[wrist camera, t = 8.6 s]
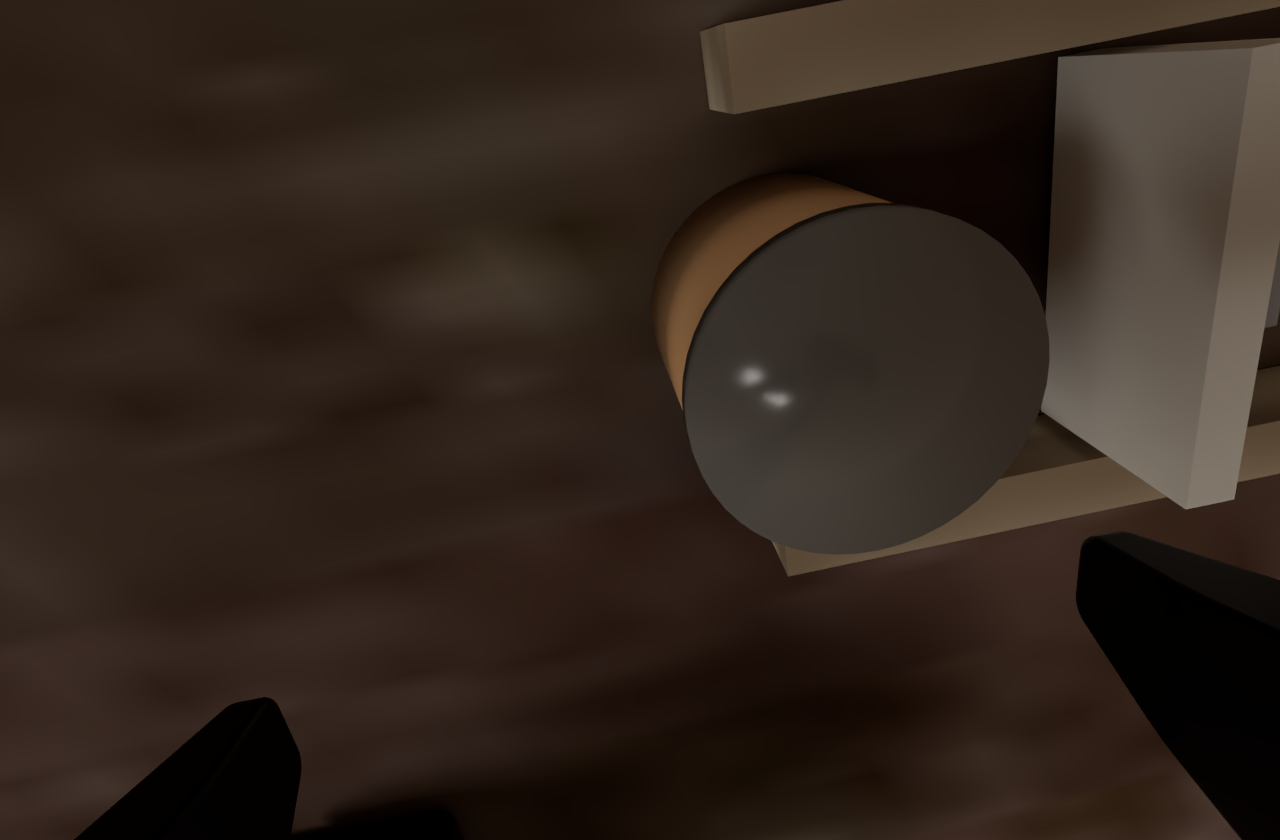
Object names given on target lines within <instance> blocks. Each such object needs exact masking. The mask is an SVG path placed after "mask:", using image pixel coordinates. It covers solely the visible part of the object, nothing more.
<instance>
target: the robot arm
mask: <svg viewBox="0 0 1280 840" xmlns="http://www.w3.org/2000/svg"><path fill="white" fill-rule="evenodd" d="M1076 602H1077V607H1078V611H1079V613H1080V615H1081V618H1082V619H1083V621H1084V623H1085V624H1086V626H1087V627H1088V629H1089V630H1090V632H1091V633H1092V635H1093V636H1094V638H1095V640H1096V641H1097V643H1098V644H1099V646H1100V647H1101V649H1102V650H1103V652H1104V653H1105V655H1106V656H1107V658H1108V659H1109V661H1110V662H1111V664H1112V665H1113V667H1114V669H1115V670H1116V672H1117V673H1118V675H1119V676H1120V678H1121V679H1122V681H1123V682H1124V684H1125V685H1126V687H1127V688H1128V690H1129V691H1130V693H1131V694H1132V696H1133V698H1134V699H1135V701H1136V702H1137V704H1138V705H1139V707H1140V708H1141V710H1142V711H1143V713H1144V714H1145V716H1146V717H1147V719H1148V720H1149V722H1150V723H1151V725H1152V726H1153V728H1154V729H1155V730H1156V732H1157V733H1158V735H1159V736H1160V738H1161V739H1162V740H1163V742H1164V743H1165V744H1166V746H1167V747H1168V748H1169V749H1170V751H1171V752H1172V753H1173V755H1174V756H1175V757H1176V759H1177V760H1178V761H1179V762H1180V764H1181V765H1182V766H1183V767H1184V769H1185V770H1186V771H1187V772H1188V774H1189V775H1190V776H1191V777H1192V779H1193V780H1194V781H1195V782H1196V784H1197V785H1198V786H1199V787H1200V789H1201V790H1202V791H1203V792H1204V794H1205V795H1206V796H1207V797H1208V799H1209V800H1210V801H1211V802H1212V804H1213V805H1214V806H1215V807H1216V809H1217V810H1218V811H1219V812H1220V814H1221V815H1222V816H1223V817H1224V819H1225V820H1226V821H1227V822H1228V824H1229V825H1230V826H1231V827H1232V829H1233V830H1234V831H1235V832H1236V834H1237V835H1238V836H1239V837H1240V838H1241V840H1280V580H1277V579H1274V578H1271V577H1268V576H1265V575H1261V574H1258V573H1255V572H1252V571H1249V570H1246V569H1243V568H1239V567H1236V566H1233V565H1230V564H1227V563H1224V562H1221V561H1218V560H1214V559H1211V558H1208V557H1205V556H1202V555H1199V554H1196V553H1192V552H1189V551H1186V550H1183V549H1180V548H1177V547H1174V546H1171V545H1167V544H1164V543H1161V542H1158V541H1155V540H1152V539H1149V538H1145V537H1142V536H1139V535H1136V534H1133V533H1130V532H1126V531H1116V532H1111V533H1106V534H1101V535H1095V536H1091V537H1089V538H1087V539H1086V540H1085V541H1084V542H1083V544H1082V546H1081V550H1080V559H1079V569H1078V579H1077V589H1076ZM300 778H301V758H300V753H299V750H298V748H297V745H296V743H295V741H294V739H293V737H292V734H291V732H290V730H289V728H288V726H287V724H286V721H285V719H284V717H283V715H282V713H281V711H280V708H279V707H278V705H277V703H276V702H275V701H274V700H273V699H271V698H267V697H263V698H257V699H252V700H247V701H242V702H237V703H234V704H231V705H229V706H228V707H226V708H225V709H224V710H223V711H222V712H220V713H219V714H218V715H217V716H216V717H215V718H213V719H212V720H211V721H210V722H209V723H208V724H207V725H205V726H204V727H203V728H202V729H201V730H200V731H199V732H197V733H196V734H195V735H194V736H193V737H192V738H190V739H189V740H188V741H187V742H186V743H185V744H184V745H182V746H181V747H180V748H179V749H178V750H177V751H175V752H174V753H173V754H172V755H171V756H170V757H169V758H167V759H166V760H165V761H164V762H163V763H162V764H161V765H159V766H158V767H157V768H156V769H155V770H154V771H152V772H151V773H150V774H149V775H148V776H147V777H146V778H144V779H143V780H142V781H141V782H140V783H139V784H137V785H136V786H135V787H134V788H133V789H132V790H131V791H129V792H128V793H127V794H126V795H125V796H124V797H123V798H121V799H120V800H119V801H118V802H117V803H116V804H114V805H113V806H112V807H111V808H110V809H109V810H108V811H106V812H105V813H104V814H103V815H102V816H101V817H100V818H98V819H97V820H96V821H95V822H94V823H93V824H91V825H90V826H89V827H88V828H87V829H86V830H85V831H83V832H82V833H81V834H80V835H79V836H78V837H76V838H75V839H74V840H290V837H291V831H292V825H293V819H294V813H295V807H296V801H297V795H298V790H299V784H300ZM299 840H463V838H462V835H461V833H460V830H459V828H458V825H457V823H456V820H455V818H454V817H453V815H452V814H450V813H449V812H447V811H442V810H435V811H430V812H425V813H420V814H416V815H411V816H406V817H402V818H397V819H392V820H388V821H383V822H378V823H374V824H369V825H364V826H360V827H355V828H350V829H346V830H341V831H336V832H332V833H327V834H322V835H318V836H313V837H308V838H303V839H299Z"/></svg>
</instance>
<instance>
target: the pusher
mask: <svg viewBox="0 0 1280 840" xmlns="http://www.w3.org/2000/svg"><path fill="white" fill-rule="evenodd" d="M1279 310H1280V38H1268V39H1251V40H1234V41H1217V42H1200V43H1182V44H1165V45H1148V46H1131V47H1114V48H1102V49H1097V50H1092V51H1086V52H1081V53H1076V54H1071V55H1066V56H1061V57H1058V73H1057V94H1056V114H1055V135H1054V155H1053V176H1052V196H1051V217H1050V237H1049V257H1048V278H1047V298H1046V323H1047V329H1048V335H1049V357H1050V362H1049V370H1048V379H1047V385H1046V389H1045V393H1044V397H1043V401H1042V405H1041V411H1042V412H1043V413H1045V414H1046V415H1048V416H1049V417H1051V418H1052V419H1054V420H1055V421H1057V422H1058V423H1060V424H1061V425H1063V426H1064V427H1066V428H1067V429H1068V430H1070V431H1071V432H1073V433H1074V434H1076V435H1077V436H1079V437H1080V438H1082V439H1083V440H1085V441H1086V442H1088V443H1089V444H1090V445H1092V446H1093V447H1095V448H1096V449H1098V450H1099V451H1101V452H1102V453H1104V454H1105V455H1107V456H1108V457H1110V458H1111V459H1112V460H1114V461H1115V462H1117V463H1118V464H1120V465H1121V466H1123V467H1124V468H1126V469H1127V470H1129V471H1130V472H1132V473H1133V474H1135V475H1136V476H1137V477H1139V478H1140V479H1142V480H1143V481H1145V482H1146V483H1148V484H1149V485H1151V486H1152V487H1154V488H1155V489H1157V490H1158V491H1159V492H1161V493H1162V494H1164V495H1165V496H1167V497H1168V498H1170V499H1171V500H1173V501H1174V502H1176V503H1177V504H1179V505H1180V506H1182V507H1183V508H1184V509H1191V508H1195V507H1200V506H1205V505H1210V504H1214V503H1219V502H1224V501H1229V500H1233V499H1234V498H1235V492H1236V487H1237V481H1238V475H1239V470H1240V464H1241V458H1242V453H1243V447H1244V441H1245V435H1246V430H1247V424H1248V418H1249V413H1250V407H1251V401H1252V396H1253V390H1254V384H1255V379H1256V373H1257V367H1258V361H1259V356H1260V350H1261V344H1262V339H1263V333H1264V328H1267V327H1272V326H1277V321H1278V316H1279Z"/></svg>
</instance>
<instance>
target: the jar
mask: <svg viewBox="0 0 1280 840" xmlns="http://www.w3.org/2000/svg"><path fill="white" fill-rule="evenodd" d="M651 315H652V324H653V331H654V335H655V339H656V343H657V346H658V348H659V351H660V354H661V356H662V359H663V361H664V364H665V366H666V369H667V371H668V374H669V377H670V379H671V382H672V384H673V387H674V389H675V392H676V394H677V397H678V400H679V402H680V405H681V407H682V410H683V418H684V424H685V428H686V432H687V436H688V440H689V443H690V446H691V449H692V451H693V454H694V457H695V459H696V462H697V464H698V466H699V469H700V471H701V474H702V476H703V478H704V479H705V481H706V483H707V484H708V486H709V488H710V489H711V491H712V493H713V494H714V495H715V497H716V498H717V499H718V500H719V502H720V503H721V504H722V505H723V506H724V508H725V509H726V510H727V511H728V512H729V513H731V514H732V515H733V516H734V517H735V518H736V519H737V520H738V521H739V522H741V523H742V524H743V525H745V526H746V527H748V528H749V529H751V530H752V531H754V532H755V533H757V534H759V535H761V536H763V537H765V538H767V539H769V540H771V541H773V542H775V543H778V544H781V545H784V546H787V547H790V548H793V549H797V550H802V551H807V552H812V553H821V554H834V555H839V554H859V553H865V552H872V551H878V550H882V549H886V548H890V547H893V546H897V545H901V544H903V543H906V542H909V541H911V540H914V539H916V538H919V537H921V536H923V535H925V534H927V533H929V532H931V531H933V530H935V529H937V528H939V527H941V526H943V525H944V524H946V523H948V522H949V521H951V520H952V519H954V518H955V517H957V516H958V515H960V514H961V513H963V512H964V511H965V510H966V509H968V508H969V507H970V506H971V505H973V504H974V503H975V502H977V501H978V500H979V499H980V498H981V497H982V496H983V495H984V494H985V493H986V492H987V491H988V490H989V489H990V488H991V487H992V486H993V485H994V484H995V483H996V482H997V481H998V480H999V479H1000V477H1001V476H1002V475H1003V474H1004V473H1005V471H1006V470H1007V469H1008V468H1009V467H1010V465H1011V464H1012V462H1013V461H1014V459H1015V458H1016V456H1017V455H1018V453H1019V452H1020V450H1021V449H1022V447H1023V445H1024V444H1025V442H1026V440H1027V438H1028V436H1029V434H1030V432H1031V430H1032V428H1033V426H1034V424H1035V421H1036V418H1037V416H1038V413H1039V410H1040V408H1041V405H1042V401H1043V397H1044V393H1045V389H1046V385H1047V379H1048V370H1049V362H1050V357H1049V335H1048V329H1047V323H1046V317H1045V314H1044V311H1043V307H1042V304H1041V301H1040V298H1039V295H1038V293H1037V291H1036V290H1035V288H1034V286H1033V284H1032V282H1031V280H1030V278H1029V276H1028V275H1027V273H1026V272H1025V270H1024V269H1023V268H1022V266H1021V265H1020V264H1019V262H1018V261H1017V260H1016V258H1015V257H1014V256H1013V255H1012V254H1011V253H1010V252H1009V251H1008V250H1007V249H1006V248H1005V247H1004V246H1003V245H1001V244H1000V243H999V242H998V241H997V240H995V239H994V238H992V237H991V236H989V235H988V234H987V233H985V232H984V231H982V230H981V229H979V228H977V227H975V226H973V225H971V224H968V223H966V222H964V221H962V220H960V219H958V218H955V217H952V216H949V215H946V214H943V213H939V212H936V211H933V210H930V209H926V208H923V207H920V206H914V205H907V204H900V203H892V202H889V201H886V200H883V199H880V198H878V197H875V196H872V195H869V194H866V193H863V192H861V191H858V190H855V189H852V188H849V187H847V186H844V185H841V184H838V183H835V182H832V181H830V180H826V179H823V178H820V177H817V176H813V175H807V174H800V173H775V174H767V175H761V176H757V177H753V178H750V179H746V180H743V181H741V182H739V183H736V184H734V185H731V186H729V187H727V188H726V189H724V190H722V191H720V192H719V193H717V194H715V195H713V196H712V197H711V198H710V199H708V200H707V201H706V202H704V203H703V204H702V205H700V206H699V207H698V208H697V209H696V210H695V211H694V212H693V213H692V214H691V215H690V216H689V217H688V218H687V219H686V220H685V221H684V223H683V224H682V225H681V226H680V228H679V229H678V230H677V231H676V233H675V234H674V236H673V238H672V239H671V241H670V243H669V244H668V246H667V248H666V250H665V252H664V254H663V256H662V259H661V261H660V263H659V266H658V270H657V273H656V276H655V280H654V286H653V292H652V305H651Z"/></svg>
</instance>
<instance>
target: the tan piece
mask: <svg viewBox="0 0 1280 840" xmlns="http://www.w3.org/2000/svg"><path fill="white" fill-rule="evenodd" d="M1275 7H1280V0H843V1H837V2H832V3H827V4H822V5H817V6H812V7H807V8H802V9H796V10H791V11H786V12H781V13H776V14H771V15H766V16H761V17H755V18H750V19H745V20H740V21H735V22H730V23H725V24H721V25H718V26H715V27H712V28H710V29H707V30H704V31H701V32H700V38H701V46H702V54H703V62H704V69H705V77H706V85H707V93H708V101H709V108H710V110H715V111H720V112H725V113H731V114H738V113H744V112H749V111H754V110H759V109H764V108H769V107H774V106H779V105H784V104H789V103H794V102H799V101H804V100H809V99H814V98H820V97H825V96H830V95H835V94H840V93H845V92H850V91H855V90H860V89H865V88H870V87H875V86H880V85H885V84H890V83H896V82H901V81H906V80H911V79H916V78H921V77H926V76H931V75H936V74H941V73H946V72H951V71H956V70H961V69H966V68H971V67H977V66H982V65H987V64H992V63H997V62H1002V61H1007V60H1012V59H1017V58H1022V57H1027V56H1032V55H1037V54H1042V53H1047V52H1053V51H1058V50H1063V49H1068V48H1073V47H1078V46H1083V45H1088V44H1093V43H1098V42H1103V41H1108V40H1113V39H1118V38H1123V37H1129V36H1134V35H1139V34H1144V33H1149V32H1154V31H1159V30H1164V29H1169V28H1174V27H1179V26H1184V25H1189V24H1194V23H1199V22H1205V21H1210V20H1215V19H1220V18H1225V17H1230V16H1235V15H1240V14H1245V13H1250V12H1255V11H1260V10H1265V9H1270V8H1275ZM1279 473H1280V366H1276V367H1271V368H1266V369H1261V370H1257V373H1256V379H1255V384H1254V390H1253V396H1252V401H1251V407H1250V413H1249V418H1248V424H1247V430H1246V435H1245V441H1244V447H1243V453H1242V458H1241V464H1240V470H1239V475H1238V481H1237V482H1241V481H1246V480H1251V479H1255V478H1260V477H1265V476H1270V475H1274V474H1279ZM1165 497H1167V496H1165V495H1164V494H1162V493H1161V492H1159V491H1158V490H1157V489H1155V488H1154V487H1152V486H1151V485H1149V484H1148V483H1146V482H1145V481H1143V480H1142V479H1140V478H1139V477H1137V476H1136V475H1135V474H1133V473H1132V472H1130V471H1129V470H1127V469H1126V468H1124V467H1123V466H1121V465H1120V464H1118V463H1117V462H1115V461H1114V460H1112V459H1111V458H1110V457H1108V456H1107V455H1105V454H1104V453H1102V452H1101V451H1099V450H1098V449H1096V448H1095V447H1093V446H1092V445H1090V444H1089V443H1088V442H1086V441H1085V440H1083V439H1082V438H1080V437H1079V436H1077V435H1076V434H1074V433H1073V432H1071V431H1070V430H1068V429H1067V428H1066V427H1064V426H1063V425H1061V424H1060V423H1058V422H1057V421H1055V420H1054V419H1052V418H1051V417H1049V416H1048V415H1046V414H1044V415H1039V416H1037V418H1036V421H1035V424H1034V426H1033V428H1032V430H1031V432H1030V434H1029V436H1028V438H1027V440H1026V442H1025V444H1024V445H1023V447H1022V449H1021V450H1020V452H1019V453H1018V455H1017V456H1016V458H1015V459H1014V461H1013V462H1012V464H1011V465H1010V467H1009V468H1008V469H1007V470H1006V471H1005V473H1004V474H1003V475H1002V476H1001V477H1000V479H999V480H998V481H997V482H996V483H995V484H994V485H993V486H992V487H991V488H990V489H989V490H988V491H987V492H986V493H985V494H984V495H983V496H982V497H981V498H980V499H979V500H978V501H977V502H975V503H974V504H973V505H971V506H970V507H969V508H968V509H966V510H965V511H964V512H963V513H961V514H960V515H958V516H957V517H955V518H954V519H952V520H951V521H949V522H948V523H946V524H944V525H943V526H941V527H939V528H937V529H935V530H933V531H931V532H929V533H927V534H925V535H923V536H921V537H919V538H916V539H914V540H911V541H909V542H906V543H903V544H901V545H897V546H893V547H890V548H886V549H882V550H878V551H872V552H865V553H859V554H839V555H834V554H821V553H812V552H807V551H802V550H797V549H793V548H790V547H787V546H784V545H781V544H778V543H775V542H773V541H772V543H773V545H774V547H775V549H776V551H777V553H778V555H779V558H780V560H781V562H782V564H783V566H784V568H785V570H786V572H787V575H788V576H793V575H797V574H802V573H807V572H812V571H816V570H821V569H826V568H831V567H835V566H840V565H845V564H850V563H855V562H859V561H864V560H869V559H874V558H878V557H883V556H888V555H893V554H898V553H902V552H907V551H912V550H917V549H921V548H926V547H931V546H936V545H940V544H945V543H950V542H955V541H960V540H964V539H969V538H974V537H979V536H983V535H988V534H993V533H998V532H1002V531H1007V530H1012V529H1017V528H1022V527H1026V526H1031V525H1036V524H1041V523H1045V522H1050V521H1055V520H1060V519H1064V518H1069V517H1074V516H1079V515H1084V514H1088V513H1093V512H1098V511H1103V510H1107V509H1112V508H1117V507H1122V506H1126V505H1131V504H1136V503H1141V502H1146V501H1150V500H1155V499H1160V498H1165Z"/></svg>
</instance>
